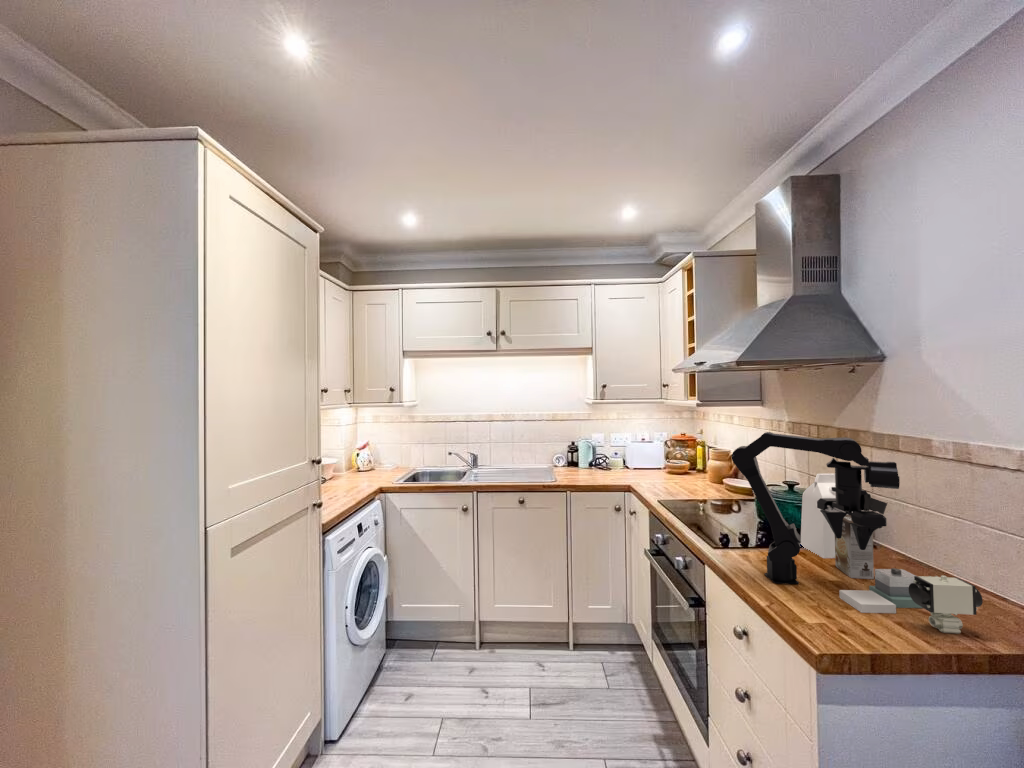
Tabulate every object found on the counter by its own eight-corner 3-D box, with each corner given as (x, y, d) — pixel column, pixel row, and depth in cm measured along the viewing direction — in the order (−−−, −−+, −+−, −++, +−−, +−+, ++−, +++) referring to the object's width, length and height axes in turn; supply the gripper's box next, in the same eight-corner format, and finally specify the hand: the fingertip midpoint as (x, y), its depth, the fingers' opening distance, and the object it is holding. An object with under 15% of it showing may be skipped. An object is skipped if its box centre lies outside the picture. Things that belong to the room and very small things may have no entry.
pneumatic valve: (984, 637, 97) (982, 581, 97) (924, 633, 99) (922, 578, 99) (963, 624, 102) (961, 571, 103) (906, 621, 104) (904, 569, 104)
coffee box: (834, 566, 138) (832, 513, 138) (857, 567, 136) (856, 514, 137) (850, 578, 129) (848, 522, 129) (875, 579, 127) (873, 523, 128)
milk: (834, 545, 156) (832, 470, 156) (860, 557, 144) (857, 476, 145) (800, 546, 156) (798, 471, 156) (823, 558, 144) (820, 477, 145)
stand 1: (861, 612, 108) (861, 604, 108) (839, 597, 116) (839, 589, 116) (896, 613, 108) (895, 604, 108) (871, 598, 116) (871, 590, 116)
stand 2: (892, 607, 111) (892, 599, 111) (869, 593, 119) (869, 585, 119) (927, 608, 110) (926, 600, 110) (901, 593, 118) (900, 586, 118)
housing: (919, 597, 112) (918, 573, 112) (890, 596, 112) (889, 573, 112) (903, 588, 117) (902, 566, 117) (875, 588, 117) (874, 565, 117)
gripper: (908, 492, 110) (910, 556, 110) (855, 478, 129) (857, 533, 128) (861, 492, 111) (863, 556, 110) (815, 478, 129) (816, 533, 129)
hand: (850, 543), depth 119 cm, fingers open, 9 cm apart
